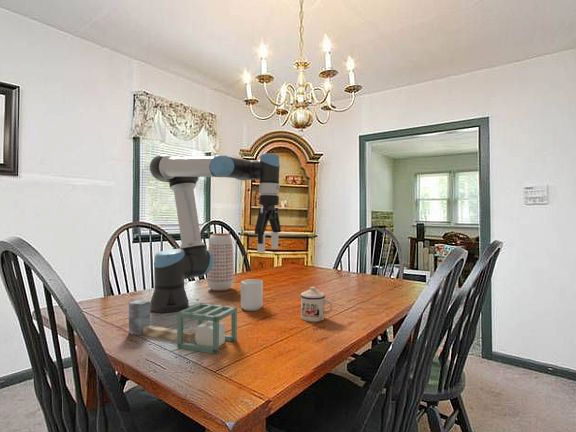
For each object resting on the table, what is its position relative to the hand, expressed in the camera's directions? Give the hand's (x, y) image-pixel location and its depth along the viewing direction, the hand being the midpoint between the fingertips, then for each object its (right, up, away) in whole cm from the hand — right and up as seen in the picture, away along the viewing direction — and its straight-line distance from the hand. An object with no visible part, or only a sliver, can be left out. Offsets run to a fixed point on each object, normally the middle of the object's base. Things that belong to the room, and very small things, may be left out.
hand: (268, 250), depth 136 cm
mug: (-7, -25, +11) cm, 28 cm away
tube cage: (-16, -25, -29) cm, 42 cm away
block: (-15, -25, -30) cm, 42 cm away
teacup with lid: (+18, -25, -4) cm, 31 cm away
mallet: (-32, -25, -23) cm, 47 cm away
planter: (-27, -24, +44) cm, 57 cm away
